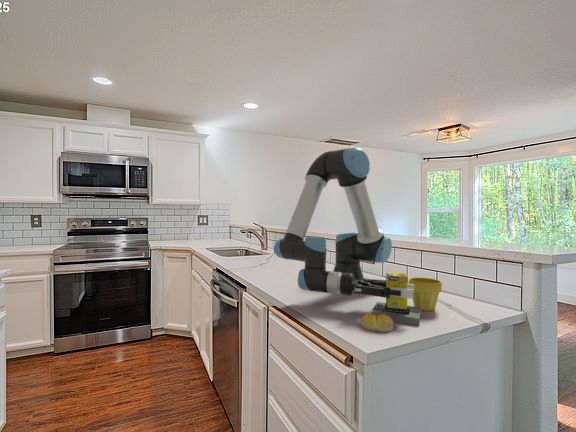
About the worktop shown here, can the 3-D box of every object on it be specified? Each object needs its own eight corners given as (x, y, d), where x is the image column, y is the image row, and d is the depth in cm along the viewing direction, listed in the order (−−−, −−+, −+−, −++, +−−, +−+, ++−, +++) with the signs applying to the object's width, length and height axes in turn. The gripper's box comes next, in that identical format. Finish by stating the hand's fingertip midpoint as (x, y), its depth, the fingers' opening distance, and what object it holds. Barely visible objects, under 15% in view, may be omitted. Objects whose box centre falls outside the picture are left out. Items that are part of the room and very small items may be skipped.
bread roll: (363, 320, 97) (363, 308, 96) (394, 325, 93) (394, 312, 93) (358, 330, 89) (358, 315, 89) (391, 335, 85) (391, 320, 85)
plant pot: (428, 303, 115) (428, 276, 115) (448, 311, 105) (448, 282, 105) (402, 304, 113) (403, 277, 113) (420, 313, 103) (421, 284, 103)
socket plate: (377, 307, 109) (377, 301, 109) (420, 313, 103) (420, 306, 103) (370, 318, 98) (370, 311, 98) (419, 325, 92) (419, 317, 92)
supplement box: (407, 311, 97) (408, 276, 97) (387, 310, 98) (387, 275, 98) (404, 306, 103) (405, 272, 103) (385, 304, 104) (386, 272, 104)
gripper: (348, 288, 117) (414, 295, 108) (333, 301, 99) (411, 312, 90) (348, 268, 117) (415, 273, 107) (333, 277, 99) (411, 285, 89)
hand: (413, 291), depth 99 cm, fingers closed on supplement box, 7 cm apart
